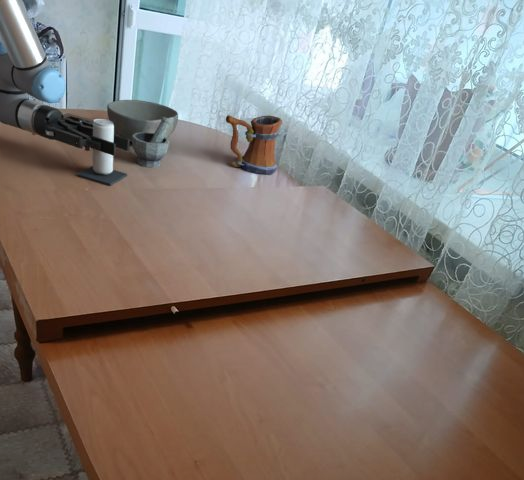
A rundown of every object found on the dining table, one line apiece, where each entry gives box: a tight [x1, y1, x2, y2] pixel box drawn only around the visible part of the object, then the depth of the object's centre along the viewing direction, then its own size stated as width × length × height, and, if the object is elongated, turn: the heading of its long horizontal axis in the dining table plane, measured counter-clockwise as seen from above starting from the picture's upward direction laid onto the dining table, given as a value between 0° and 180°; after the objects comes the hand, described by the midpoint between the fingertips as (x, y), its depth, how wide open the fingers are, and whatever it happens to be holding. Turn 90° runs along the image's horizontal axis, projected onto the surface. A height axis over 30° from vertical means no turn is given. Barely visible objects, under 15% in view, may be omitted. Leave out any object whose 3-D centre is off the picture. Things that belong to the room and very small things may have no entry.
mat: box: [76, 165, 128, 187], centre depth 137 cm, size 9×9×1 cm
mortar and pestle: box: [131, 117, 171, 169], centre depth 147 cm, size 11×9×12 cm
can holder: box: [63, 112, 95, 123], centre depth 159 cm, size 10×10×3 cm
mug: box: [225, 114, 283, 175], centre depth 159 cm, size 18×12×15 cm, turn 113°
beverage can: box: [92, 118, 115, 174], centre depth 133 cm, size 5×5×12 cm
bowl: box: [106, 99, 179, 143], centre depth 161 cm, size 20×20×10 cm
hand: (121, 147), depth 131 cm, fingers closed on beverage can, 5 cm apart
